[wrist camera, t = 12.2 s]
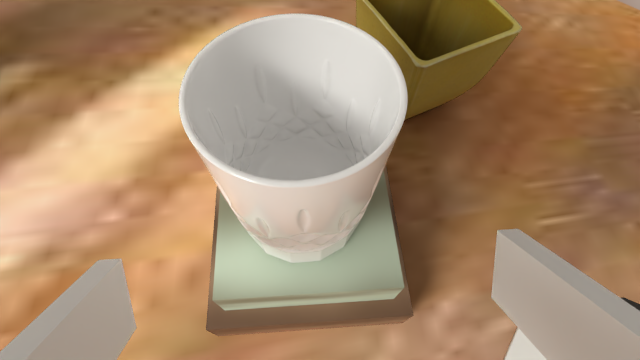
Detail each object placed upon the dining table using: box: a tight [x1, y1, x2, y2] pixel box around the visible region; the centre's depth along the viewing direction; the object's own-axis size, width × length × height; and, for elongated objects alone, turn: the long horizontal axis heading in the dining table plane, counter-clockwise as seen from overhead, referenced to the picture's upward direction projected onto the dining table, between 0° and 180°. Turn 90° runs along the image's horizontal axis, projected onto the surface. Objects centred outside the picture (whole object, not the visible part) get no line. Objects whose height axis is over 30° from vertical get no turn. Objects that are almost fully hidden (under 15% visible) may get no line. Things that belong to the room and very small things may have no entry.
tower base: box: [206, 166, 413, 336], centre depth 24 cm, size 12×12×6 cm
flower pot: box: [356, 0, 522, 120], centre depth 30 cm, size 9×9×9 cm
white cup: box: [179, 14, 408, 263], centre depth 17 cm, size 8×8×10 cm
